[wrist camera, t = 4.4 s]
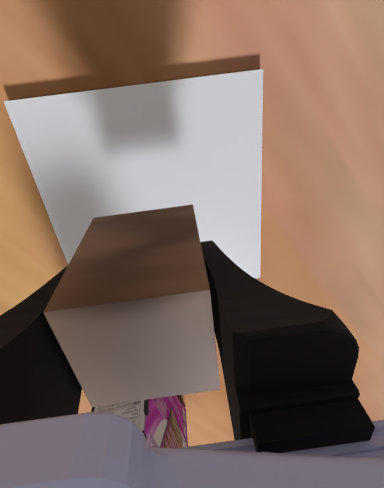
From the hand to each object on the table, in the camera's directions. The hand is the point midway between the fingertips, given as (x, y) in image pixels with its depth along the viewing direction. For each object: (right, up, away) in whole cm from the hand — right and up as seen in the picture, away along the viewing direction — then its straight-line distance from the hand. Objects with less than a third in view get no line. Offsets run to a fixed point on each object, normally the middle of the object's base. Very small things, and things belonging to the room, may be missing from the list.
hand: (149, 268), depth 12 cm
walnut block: (0, +1, +2) cm, 2 cm away
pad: (-1, +4, +7) cm, 8 cm away
